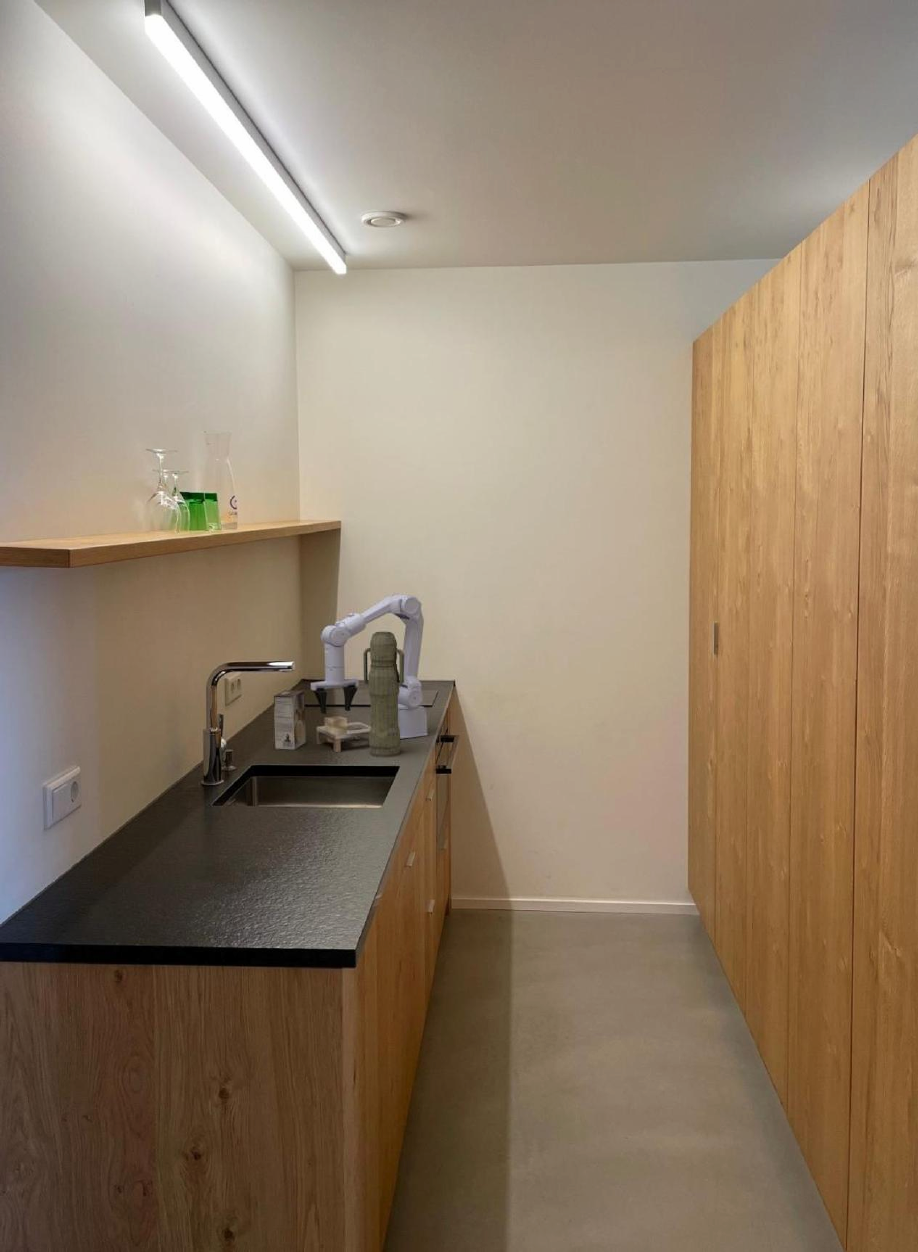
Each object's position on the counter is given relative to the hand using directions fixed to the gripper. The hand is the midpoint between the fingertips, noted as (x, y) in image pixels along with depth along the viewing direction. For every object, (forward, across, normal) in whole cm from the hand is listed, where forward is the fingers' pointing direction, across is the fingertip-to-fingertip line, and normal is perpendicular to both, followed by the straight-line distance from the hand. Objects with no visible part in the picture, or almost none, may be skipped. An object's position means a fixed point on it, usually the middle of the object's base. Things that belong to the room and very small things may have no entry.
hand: (335, 712), depth 285 cm
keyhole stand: (+10, -4, 0) cm, 11 cm away
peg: (+9, 0, 0) cm, 9 cm away
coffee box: (+11, +11, -8) cm, 17 cm away
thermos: (+11, -9, +15) cm, 20 cm away
